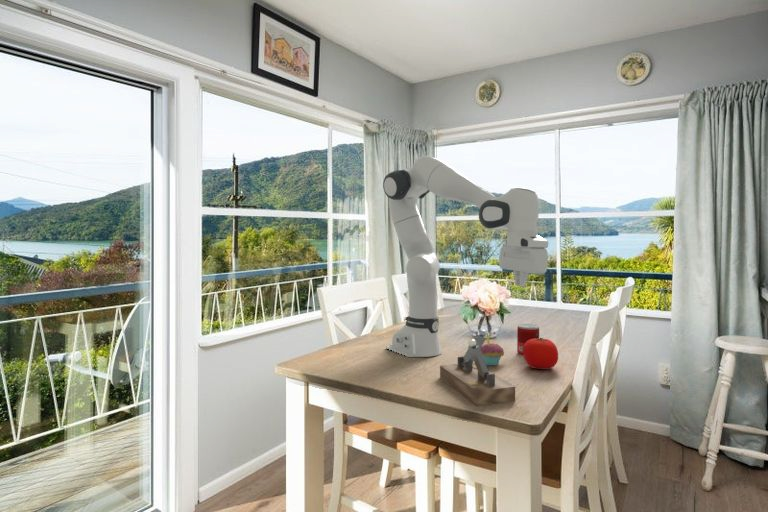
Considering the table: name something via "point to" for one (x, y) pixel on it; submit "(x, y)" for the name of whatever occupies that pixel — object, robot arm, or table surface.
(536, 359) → the tomato
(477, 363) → the cream knob lever
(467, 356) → the grey knob lever
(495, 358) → the cupcake
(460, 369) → the switch box
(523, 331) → the canned food
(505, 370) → the table surface
